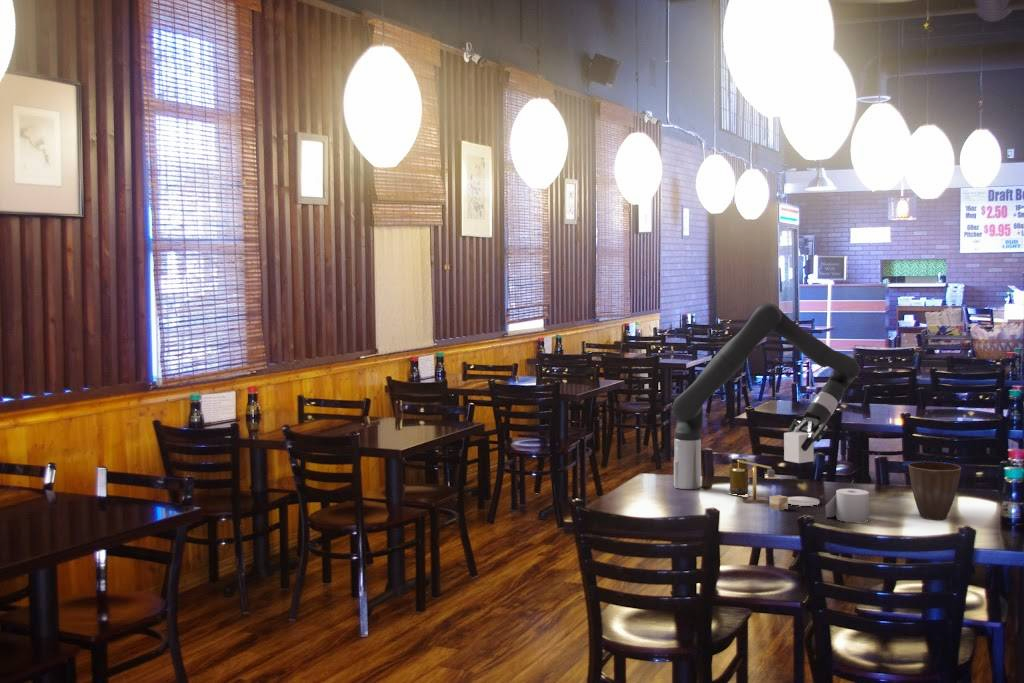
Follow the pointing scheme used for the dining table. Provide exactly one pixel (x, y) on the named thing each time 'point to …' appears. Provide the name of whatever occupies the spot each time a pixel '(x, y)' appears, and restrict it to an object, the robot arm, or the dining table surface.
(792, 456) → the white rectangular block
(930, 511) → the plant pot
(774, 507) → the block
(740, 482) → the condiment
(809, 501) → the dish
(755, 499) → the balance
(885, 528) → the dining table surface
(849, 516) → the toilet tissue
